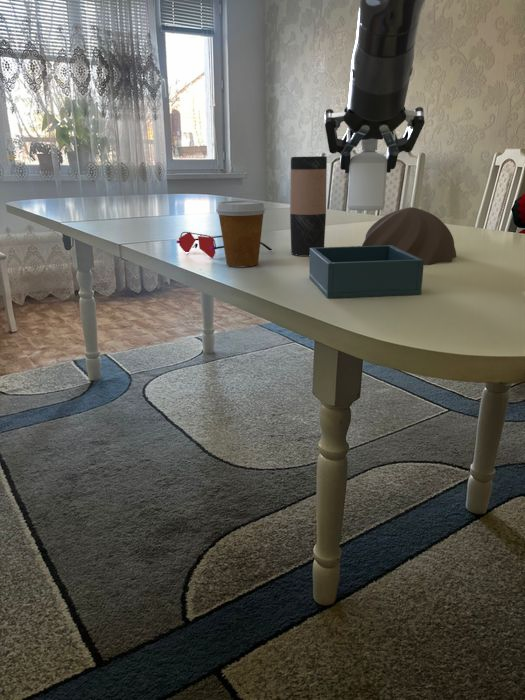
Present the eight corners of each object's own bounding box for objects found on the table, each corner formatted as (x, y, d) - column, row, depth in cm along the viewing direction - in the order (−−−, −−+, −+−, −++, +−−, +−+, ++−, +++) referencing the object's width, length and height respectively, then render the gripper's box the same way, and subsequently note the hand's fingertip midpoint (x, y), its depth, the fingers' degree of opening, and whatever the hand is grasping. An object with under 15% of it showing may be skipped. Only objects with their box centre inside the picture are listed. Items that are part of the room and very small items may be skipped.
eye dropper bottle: (374, 211, 81) (379, 125, 77) (342, 209, 85) (346, 126, 81) (389, 209, 84) (394, 126, 80) (358, 207, 88) (361, 127, 84)
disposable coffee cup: (228, 271, 102) (226, 205, 98) (211, 262, 110) (209, 201, 106) (274, 266, 106) (273, 202, 101) (254, 258, 114) (253, 199, 110)
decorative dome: (463, 265, 103) (469, 212, 100) (357, 263, 107) (360, 211, 104) (451, 249, 121) (455, 203, 118) (361, 247, 125) (363, 202, 121)
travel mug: (332, 253, 119) (334, 156, 112) (309, 257, 114) (310, 156, 107) (305, 249, 124) (307, 156, 117) (282, 253, 119) (282, 157, 112)
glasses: (176, 253, 121) (174, 230, 120) (234, 244, 132) (233, 223, 130) (212, 261, 112) (211, 236, 110) (272, 251, 122) (272, 229, 120)
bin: (390, 275, 96) (391, 245, 95) (421, 294, 83) (424, 260, 81) (309, 278, 95) (309, 247, 93) (327, 298, 81) (328, 263, 80)
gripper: (436, 50, 70) (412, 150, 85) (323, 53, 71) (320, 151, 86) (441, 91, 67) (415, 187, 82) (323, 93, 68) (319, 188, 83)
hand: (366, 168), depth 84 cm, fingers closed on eye dropper bottle, 5 cm apart
